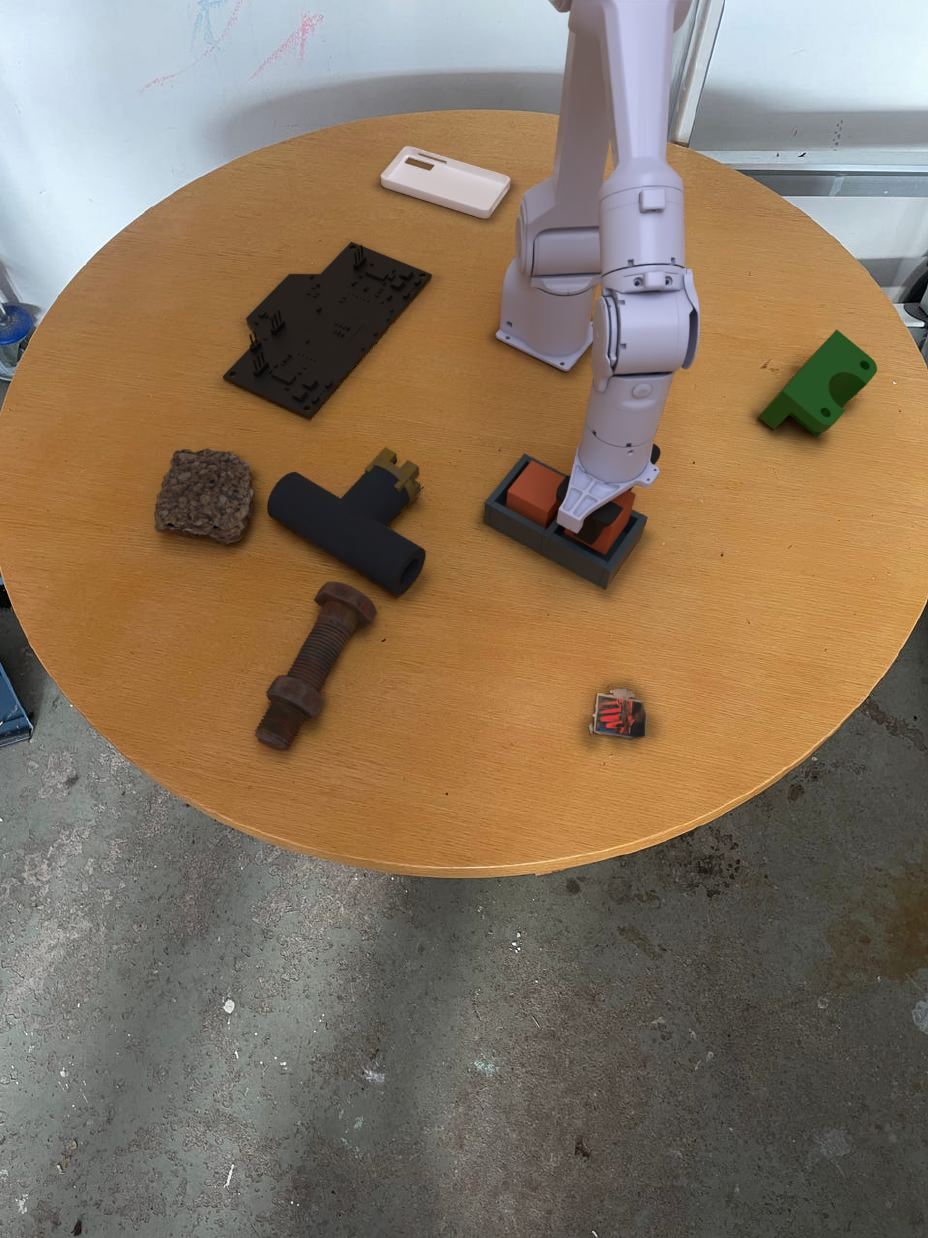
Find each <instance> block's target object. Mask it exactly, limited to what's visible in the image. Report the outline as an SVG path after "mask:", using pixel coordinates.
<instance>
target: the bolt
mask: <svg viewBox="0 0 928 1238" xmlns="http://www.w3.org/2000/svg"><path fill="white" fill-rule="evenodd" d="M313 601H314V602H315V603H316V604H317V605H318V606H319V608H321V609H320V611H319V613H318V615H317V617H316V621H315V623H314V625H313V626H312V628H311V631H310V632H309V633H308V635H307V637H306V638H305V641H304V642H303V644H302V645H301V647H300V649H299V651H298V654H297V655H296V657H295V658H294V661H293V662H292V664H291V667H289V670H288V671H287V674H286V675H284V674H282V675H278V676H277V677H275V678H274V679H273V680H272V681H271V684H270V685H269V687H268V689H267V690H266V692H265V693H266V697H267V699H268V700H269V702H270V704H269V705H268V708H266V711H265V712H264V715H263V716H262V718H261V719H260V722H259V723H258V725H257V726H256V729H255V730H254V732H255V733H254V737H255V738H257V742H259V743H260V744H262V745H264V746H267V747H269V748H272V749H274V750H276V751H281V752H284V751H288V750H290V748H289V747H291V746H292V745H291V744H293V740H295V737H296V736H297V733H298V732H299V730H300V729H301V726H302V725H303V723H304V721H305V720H306V721H312V720H313V719H315V718H316V717H317V716H318V715H319V713H320V712H321V710H322V708H323V706H324V704H325V702H324V699H323V697H322V694H320V692H321V689H323V686H324V685H325V682H326V681H327V679H328V677H329V675H330V672H331V671H332V669H333V667H334V666H335V663H336V662H337V660H338V659H339V656H340V655H341V653H342V651H343V650H344V647H345V646H346V643H347V641H348V640H349V639H350V637H351V636H352V635H353V633H354V631H355V629H358V630H362V629H363V628H365V627H367V626H369V625H370V624H372V623H373V621H374V619H375V617H376V615H377V614H378V611H377V609H376V606H375V604H374V602H373V600H372V599H371V598H370V597H368V596H367V595H366V594H364V593H363V592H361V590H359V589H356V588H355V587H353V586H352V585H350V584H347V583H345V582H340V581H327V582H325V583H324V584H323V585H322V586H321V588H320V589H319V590H318V591H317V593H316V594H315V597H314V599H313Z"/></svg>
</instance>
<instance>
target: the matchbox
mask: <svg viewBox="0 0 928 1238" xmlns="http://www.w3.org/2000/svg"><path fill="white" fill-rule="evenodd" d="M595 697H596V703H595V705H594V707H595V712H594V713H593V714H591V716H592V717H594V724H593V723H592V722H590V724H589V725H588V729H589V733H590V736H591V737H592V736H593V737H594V735H593V733H596V734H598V735H607V736H615V737H619V739H622V738H621V737H623V738H625V739H633V738H643V737H646V733H647V723H648V717H647V712H646V709H645V705H644V701H643V700H638V699H636V694H635V693H634V691H633V690H629V689H628V688H624V687H623V688H616V689H610V690H609V694H605V693H601V692H597V694H596V696H595Z"/></svg>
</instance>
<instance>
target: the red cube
mask: <svg viewBox="0 0 928 1238" xmlns="http://www.w3.org/2000/svg"><path fill="white" fill-rule="evenodd" d="M636 497H637V494H636V493H635V492H633V491H632V490H631V491H629V490H626V491H625V492H623V493H622V494H620V495H618V496H617V497H615V498H614V499H612V500H611V501H612V502H614V503H616V504H617V505H619V506H621V507H623V508H624V509H623V510H622V511H621V513H620V514H619V516H618V517H617V518H616V520H615V521H614V522H613V523H612V524H611V525H610V526H609V527H605V528H604V529H603V531H602V533H601V534H600V536H599V537H598V539H597V540H596V541H595V543H594V544H593V545H590V544H588V543H586V542H584V541H582V540H580V539H579V538H577V537H575V536H574V535H573V531H571V530H569V529H567V528H565V532H564V533H565V534H567V535H569V536H570V537H572V538H574V539H576V540H578V541H580V542H582V543H583V544H585V545H587V546H589V547H591V548H593V549H595V550H596V551H598V552H600V553H602V554H604V555H606V553H607V552H608V550H609V549H610V548H611V546H612V545H613V543H614V542H615V540H616V539H617V537H618V536H619V535H620V533H621V532H622V530H623V529H624V527H625V526H626V525H627V523H628V520H629V517H630V514H631V510H632V509H633V507H634V503H635V501H636Z"/></svg>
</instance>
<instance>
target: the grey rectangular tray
mask: <svg viewBox="0 0 928 1238" xmlns="http://www.w3.org/2000/svg"><path fill="white" fill-rule="evenodd" d="M531 461H534V462H536V463H538V464H540V465H542V466H544V467H546V468H548V469H550V470H552V471H554V472H555V473H557V474H559V475H561V476H563V477H566V476H567V475H568V474H565V473H563V472H561V471H559V470H558V469H555V468H554V467H552V466H550V465H548V464H546V463H544V462H542V461H540V460H538V459H536V458H535V457H533V456H531V455H529V454H527V453H523V454H522V455H521V457H520V458H519V459H518V461H517V462H516V463H515V464H514V465H513V467H512V468H511V469H510V470H509V472H508V473H506V476H505V477H504V478H502V480H501V481H500V483H499V484H498V485H497V487H496V488H495V489H494V490H493V492H492V493H491V494H490V495H489V497H488V498H487V499H486V500H485V501H484V507H483V508H484V510H483V524H484V525H486V526H487V527H490V528H492V529H494V530H496V531H498V532H499V533H501V534H503V535H505V536H506V537H508V538H509V539H512V540H514V541H516V542H517V543H519V544H521V545H523V546H525V547H527V548H528V549H530V550H531V551H534V552H535V553H537V554H539V555H541V556H543V557H545V558H546V559H548V560H550V561H551V562H554V563H556V565H557V564H558V565H559V566H561V567H563V568H565V569H566V570H568V571H570V572H572V573H574V574H576V575H577V576H579V577H581V578H582V579H584V580H586V581H588V582H589V583H592V584H594V585H595V586H597V587H599V588H600V589H603V590H604V591H605V590H607V589H608V587H609V586H610V584H611V582H612V581H613V580H614V578H615V577H616V575H617V574H618V572H619V571H620V570H621V568H622V566H623V565H624V563H625V562H626V561H627V559H628V558H629V556H630V555H631V553H632V552H633V550H634V549H635V547H636V546H637V544H638V543H639V541H640V540H641V538H642V536H643V534H644V531H645V528H646V525H647V521H648V519H649V517H648V516H647V515H645V514H643V513H640V512H639V511H637V510H635V509H633V508H632V510H631V514H630V517H629V520H628V523H627V525H626V526H625V527H624V529H623V530H622V532H621V533H620V535H619V536H618V537H617V539H616V540H615V542H614V543H613V545H612V546H611V548H610V549H609V550H608V552H607V553H606V555H604V554H602V553H600V552H598V551H596V550H595V549H593V548H591V547H589V546H587V545H585V544H583V543H582V542H580V541H578V540H576V539H574V538H572V537H570V536H569V535H567V534H565V533H564V532H565V527H563V526H562V525H560V524H558V523H557V517H556V518H555V519H554V521H553V522H552V523H551V525H550V526H549V527H548V529H547V530H546V529H545V528H543V527H541V526H540V525H538V524H536V523H534V522H532V521H530V520H528V519H527V518H525V517H523V516H521V515H519V514H517V513H515V512H514V511H512V510H510V509H508V508H506V504H507V493H508V490H509V488H510V487H511V486H512V485H513V483H514V482H515V481H516V480H517V478H518V477H519V476H520V475H521V473H522V472H523V471H524V470H525V468H526V467H527V466H528V465H529V463H530V462H531ZM557 516H558V515H557Z"/></svg>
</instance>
